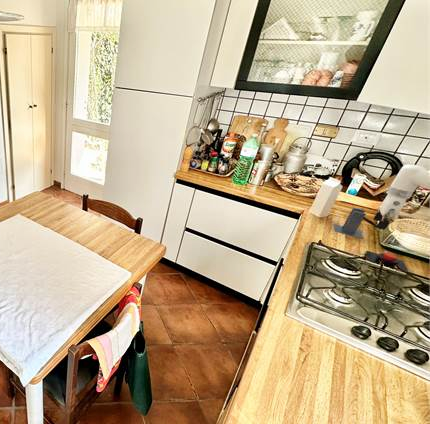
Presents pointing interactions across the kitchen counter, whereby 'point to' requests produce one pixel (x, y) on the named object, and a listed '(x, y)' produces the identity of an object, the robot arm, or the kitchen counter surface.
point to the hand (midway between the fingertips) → (378, 224)
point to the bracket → (352, 224)
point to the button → (389, 256)
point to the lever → (370, 222)
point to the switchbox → (385, 260)
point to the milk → (326, 197)
